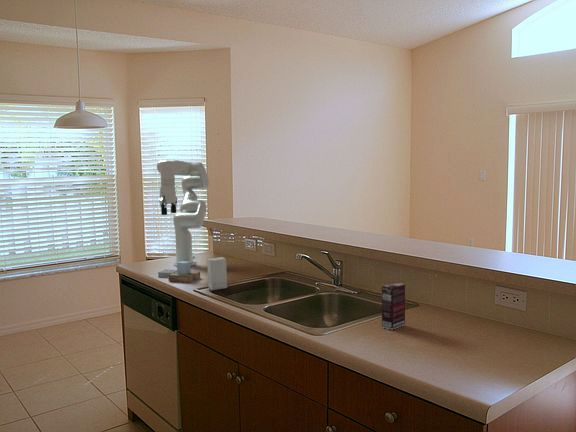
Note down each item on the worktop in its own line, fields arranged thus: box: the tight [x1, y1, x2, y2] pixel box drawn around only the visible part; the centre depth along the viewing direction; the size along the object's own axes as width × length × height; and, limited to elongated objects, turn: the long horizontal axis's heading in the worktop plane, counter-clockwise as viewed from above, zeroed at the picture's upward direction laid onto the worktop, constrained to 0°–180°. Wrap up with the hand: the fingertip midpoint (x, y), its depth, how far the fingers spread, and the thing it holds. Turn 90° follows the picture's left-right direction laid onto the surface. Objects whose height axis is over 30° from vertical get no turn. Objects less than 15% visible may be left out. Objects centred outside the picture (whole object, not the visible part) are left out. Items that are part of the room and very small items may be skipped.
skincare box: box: [206, 256, 228, 291], centre depth 257 cm, size 8×6×15 cm
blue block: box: [176, 261, 192, 275], centre depth 276 cm, size 5×5×6 cm
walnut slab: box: [168, 270, 201, 284], centre depth 277 cm, size 12×12×4 cm
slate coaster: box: [157, 269, 177, 278], centre depth 287 cm, size 8×8×3 cm
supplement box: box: [381, 282, 406, 331], centre depth 194 cm, size 9×5×16 cm, turn 133°
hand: (169, 213), depth 292 cm, fingers open, 9 cm apart
